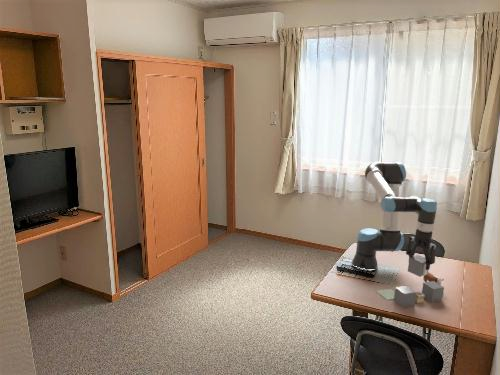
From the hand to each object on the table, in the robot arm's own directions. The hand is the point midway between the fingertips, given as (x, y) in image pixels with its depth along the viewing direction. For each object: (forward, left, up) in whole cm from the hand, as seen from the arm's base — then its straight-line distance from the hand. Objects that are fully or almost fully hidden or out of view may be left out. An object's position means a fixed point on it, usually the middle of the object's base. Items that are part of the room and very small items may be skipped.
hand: (417, 271), depth 196 cm
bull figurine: (-7, +19, -16) cm, 26 cm away
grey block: (+2, -8, -16) cm, 18 cm away
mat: (-7, -10, -16) cm, 20 cm away
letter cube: (+2, +1, -16) cm, 16 cm away
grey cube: (+2, +10, -16) cm, 19 cm away
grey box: (0, 0, 0) cm, 0 cm away
